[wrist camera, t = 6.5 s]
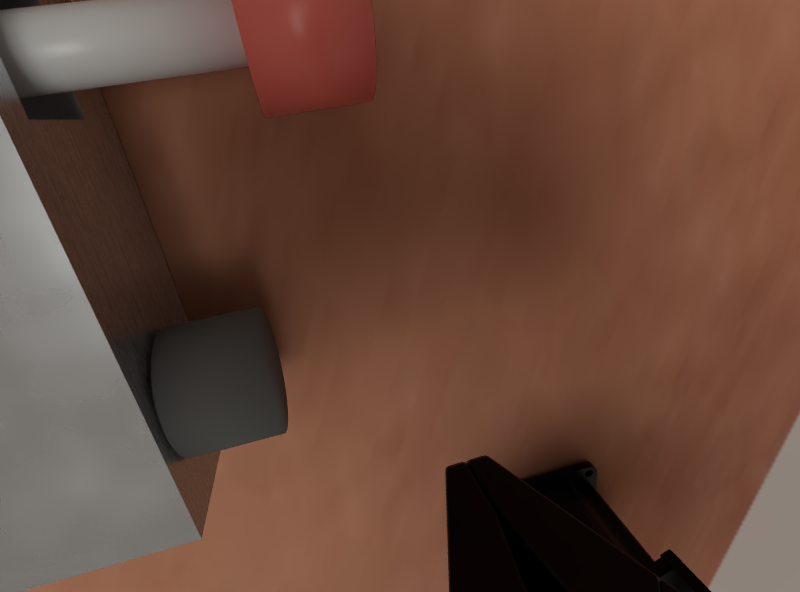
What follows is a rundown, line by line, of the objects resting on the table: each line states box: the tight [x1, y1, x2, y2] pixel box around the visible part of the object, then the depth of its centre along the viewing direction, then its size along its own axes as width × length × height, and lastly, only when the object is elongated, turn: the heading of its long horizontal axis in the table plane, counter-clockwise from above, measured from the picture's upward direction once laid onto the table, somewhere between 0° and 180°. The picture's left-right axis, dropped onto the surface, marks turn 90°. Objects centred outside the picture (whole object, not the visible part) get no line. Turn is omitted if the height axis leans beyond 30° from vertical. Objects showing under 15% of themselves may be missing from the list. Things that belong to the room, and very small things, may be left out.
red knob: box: [0, 0, 376, 118], centre depth 11 cm, size 12×4×4 cm, turn 99°
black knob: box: [146, 306, 288, 458], centre depth 14 cm, size 12×4×4 cm, turn 99°
